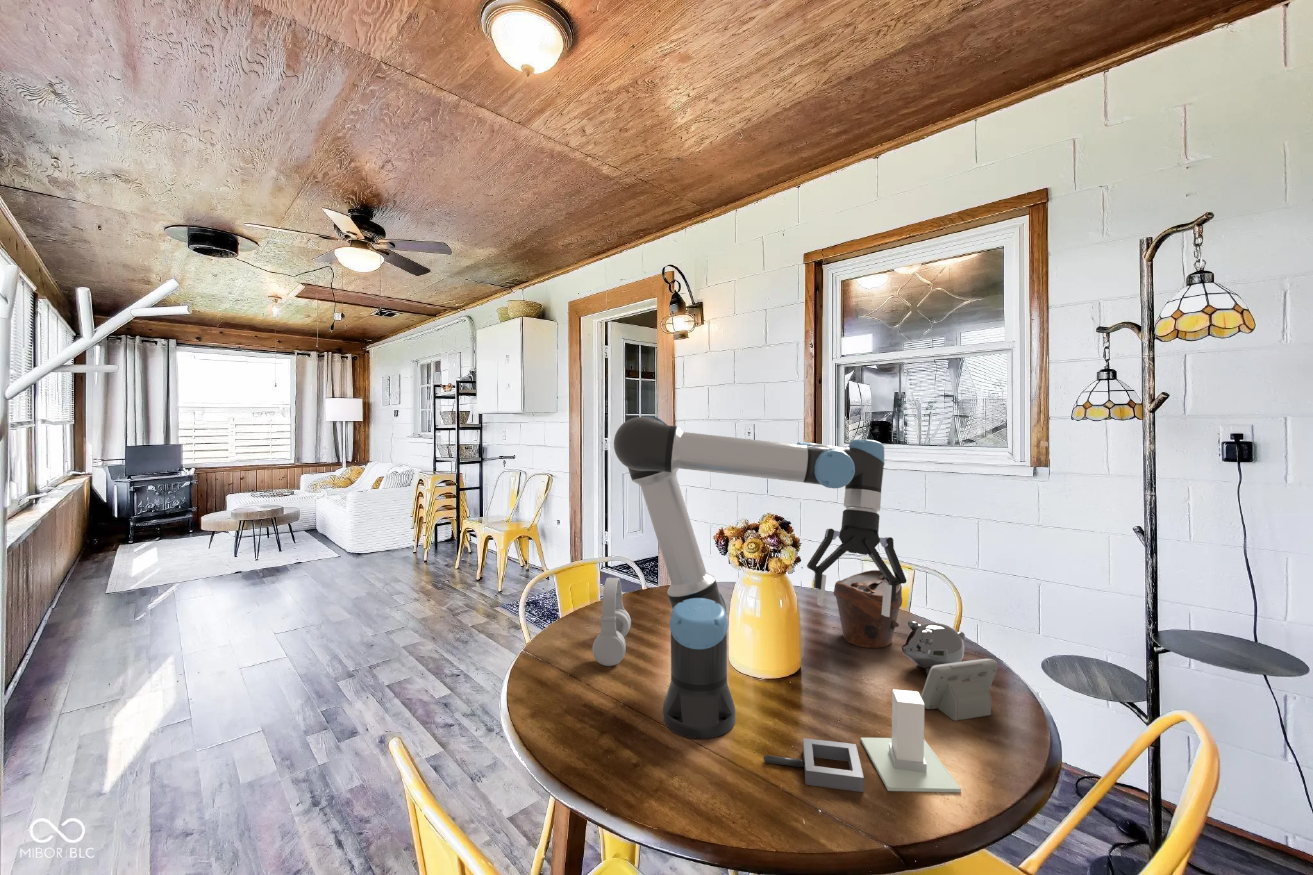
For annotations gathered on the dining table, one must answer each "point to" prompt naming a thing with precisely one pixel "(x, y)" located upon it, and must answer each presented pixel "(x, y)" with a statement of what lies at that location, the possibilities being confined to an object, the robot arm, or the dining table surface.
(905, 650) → the piggy bank
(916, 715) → the plug
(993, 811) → the dining table surface
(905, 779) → the mat
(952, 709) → the digital clock
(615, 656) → the headphones
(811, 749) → the socket block
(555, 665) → the dining table surface
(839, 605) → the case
